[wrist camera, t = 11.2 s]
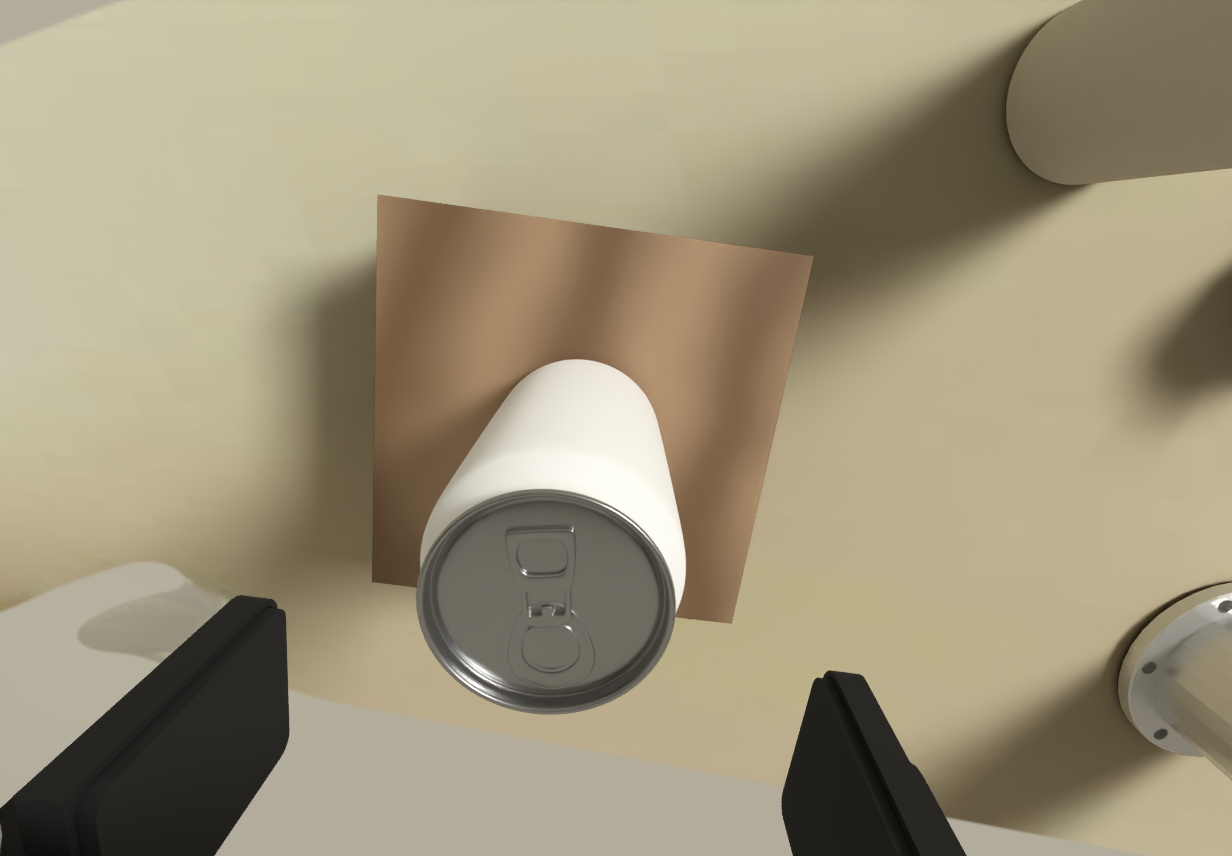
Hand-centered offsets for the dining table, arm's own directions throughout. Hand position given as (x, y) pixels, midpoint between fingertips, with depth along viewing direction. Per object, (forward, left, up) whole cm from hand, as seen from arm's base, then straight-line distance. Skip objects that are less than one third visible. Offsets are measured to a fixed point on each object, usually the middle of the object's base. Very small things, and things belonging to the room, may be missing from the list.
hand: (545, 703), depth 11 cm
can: (0, 0, -15) cm, 15 cm away
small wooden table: (0, 0, -24) cm, 24 cm away
